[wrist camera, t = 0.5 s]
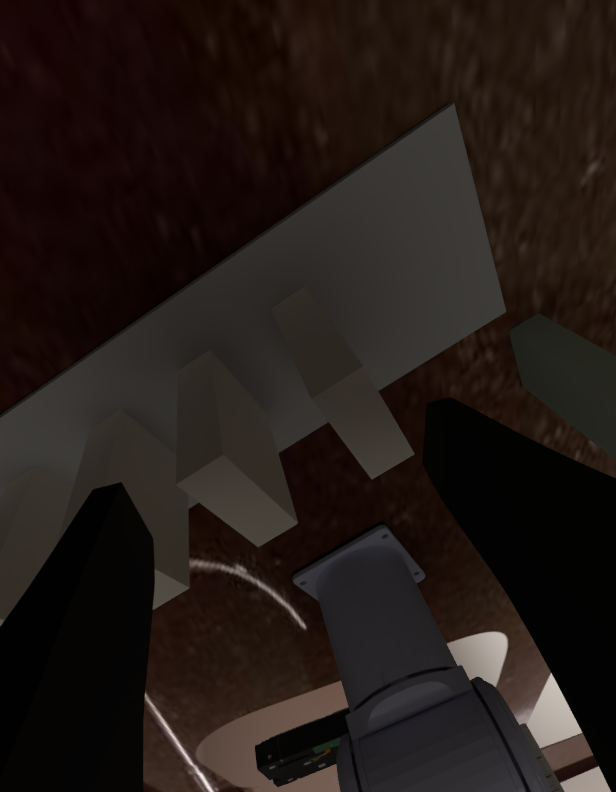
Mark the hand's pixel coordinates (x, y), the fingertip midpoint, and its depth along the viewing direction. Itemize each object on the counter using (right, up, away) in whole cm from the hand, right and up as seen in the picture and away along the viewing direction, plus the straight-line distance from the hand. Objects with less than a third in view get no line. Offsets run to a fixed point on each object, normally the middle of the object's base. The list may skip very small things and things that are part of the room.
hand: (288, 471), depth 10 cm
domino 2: (-8, -1, +10) cm, 13 cm away
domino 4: (+1, +5, +9) cm, 10 cm away
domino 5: (+13, +4, +14) cm, 20 cm away
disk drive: (+2, -41, +43) cm, 59 cm away
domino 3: (-4, +2, +10) cm, 11 cm away
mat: (-4, +2, +10) cm, 11 cm away
